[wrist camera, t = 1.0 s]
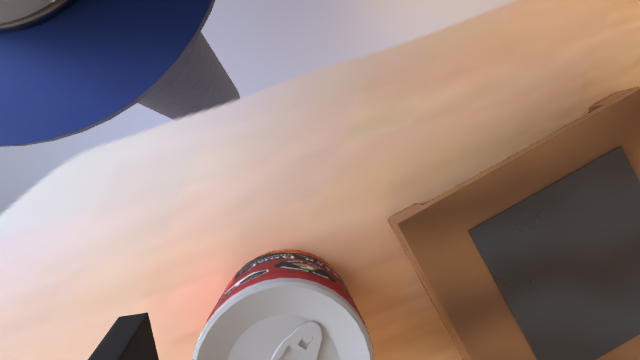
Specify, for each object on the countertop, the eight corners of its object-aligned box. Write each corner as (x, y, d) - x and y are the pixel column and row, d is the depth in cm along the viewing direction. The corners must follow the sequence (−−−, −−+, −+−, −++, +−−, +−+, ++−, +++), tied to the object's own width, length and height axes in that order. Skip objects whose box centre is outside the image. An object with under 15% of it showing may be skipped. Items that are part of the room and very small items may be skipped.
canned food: (365, 266, 35) (399, 307, 24) (328, 395, 35) (345, 494, 24) (241, 231, 35) (219, 257, 24) (204, 361, 35) (164, 446, 24)
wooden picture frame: (386, 218, 35) (397, 224, 32) (615, 92, 36) (652, 82, 32) (496, 420, 36) (520, 449, 32) (720, 292, 37) (769, 305, 33)
